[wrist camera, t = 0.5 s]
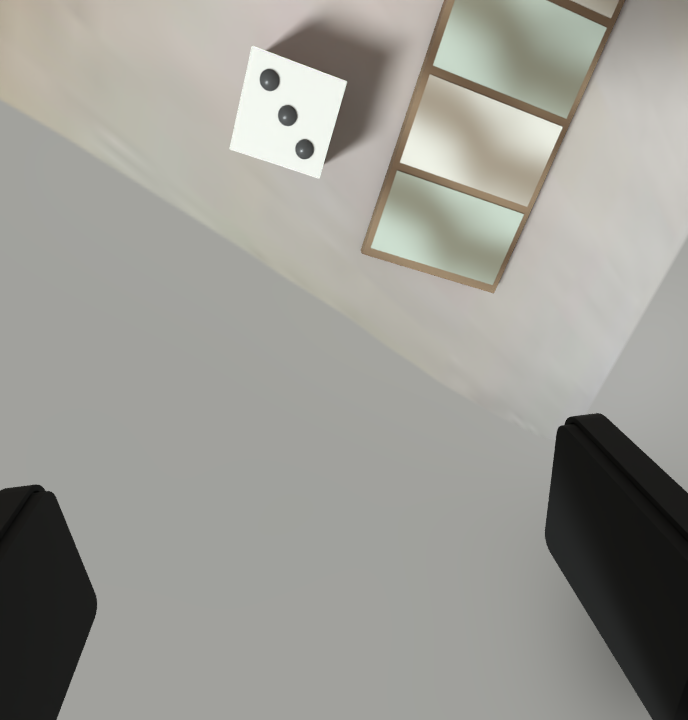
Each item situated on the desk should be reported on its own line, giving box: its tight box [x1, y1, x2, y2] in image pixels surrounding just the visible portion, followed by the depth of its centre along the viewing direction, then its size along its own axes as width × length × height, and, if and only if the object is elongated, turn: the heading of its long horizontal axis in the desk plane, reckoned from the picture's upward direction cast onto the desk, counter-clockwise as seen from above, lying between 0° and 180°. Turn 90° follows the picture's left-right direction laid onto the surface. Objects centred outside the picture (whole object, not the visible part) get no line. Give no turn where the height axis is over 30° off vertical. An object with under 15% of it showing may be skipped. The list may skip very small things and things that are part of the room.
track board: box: [361, 0, 625, 293], centre depth 32 cm, size 23×10×1 cm, turn 162°
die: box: [230, 46, 347, 178], centre depth 29 cm, size 5×5×5 cm
